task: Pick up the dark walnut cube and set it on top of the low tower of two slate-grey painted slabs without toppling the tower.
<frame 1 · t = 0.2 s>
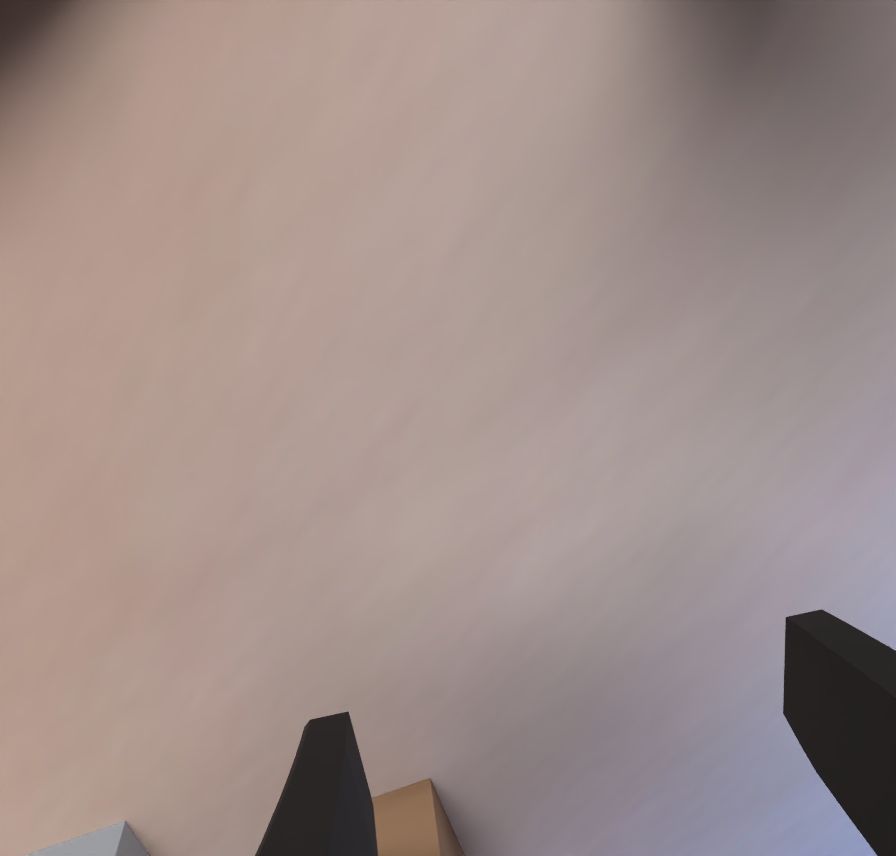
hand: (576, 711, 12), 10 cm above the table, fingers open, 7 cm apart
walnut cube: (388, 841, 27), on the table
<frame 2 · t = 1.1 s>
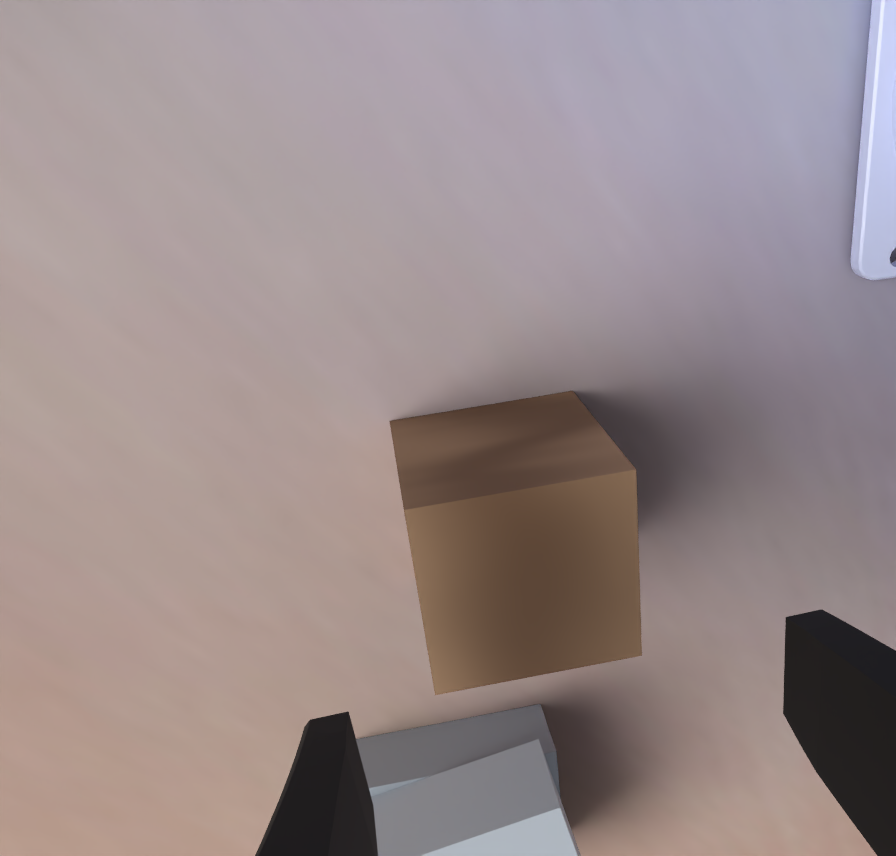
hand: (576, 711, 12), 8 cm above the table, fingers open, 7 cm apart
walnut cube: (490, 486, 20), on the table
tower base: (456, 780, 24), on the table
tower top: (470, 839, 22), point 2 cm above the table
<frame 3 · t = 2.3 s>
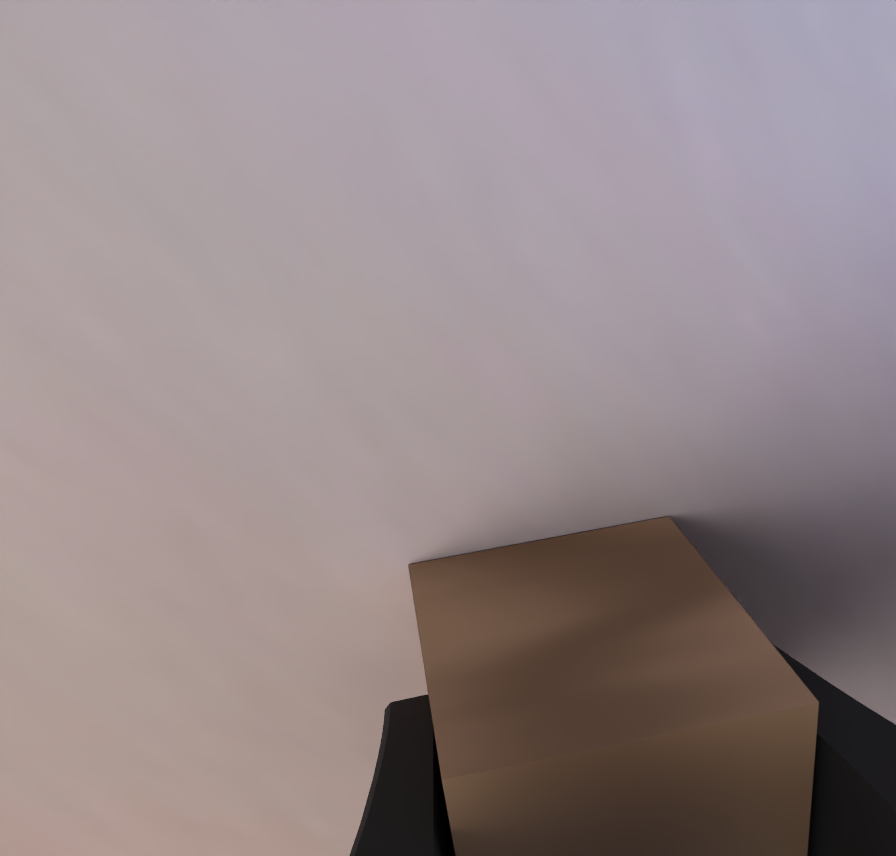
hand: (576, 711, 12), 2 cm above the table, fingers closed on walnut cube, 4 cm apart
walnut cube: (550, 646, 14), on the table, touching gripper
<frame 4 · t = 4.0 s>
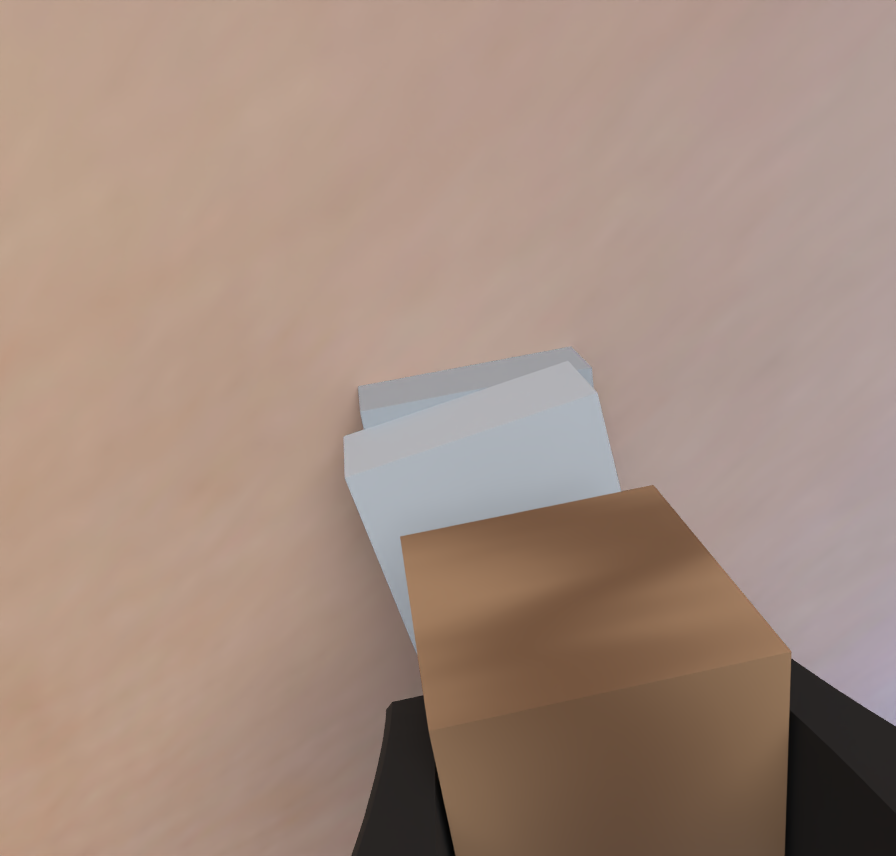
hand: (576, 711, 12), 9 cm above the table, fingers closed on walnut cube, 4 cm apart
walnut cube: (541, 615, 14), point 7 cm above the table, touching gripper
tower base: (477, 455, 21), on the table
tower top: (487, 497, 19), point 2 cm above the table
when the fingers open (7 cm above the table, at t = 4.8 s): walnut cube drops 1 cm, point 4 cm above the table.
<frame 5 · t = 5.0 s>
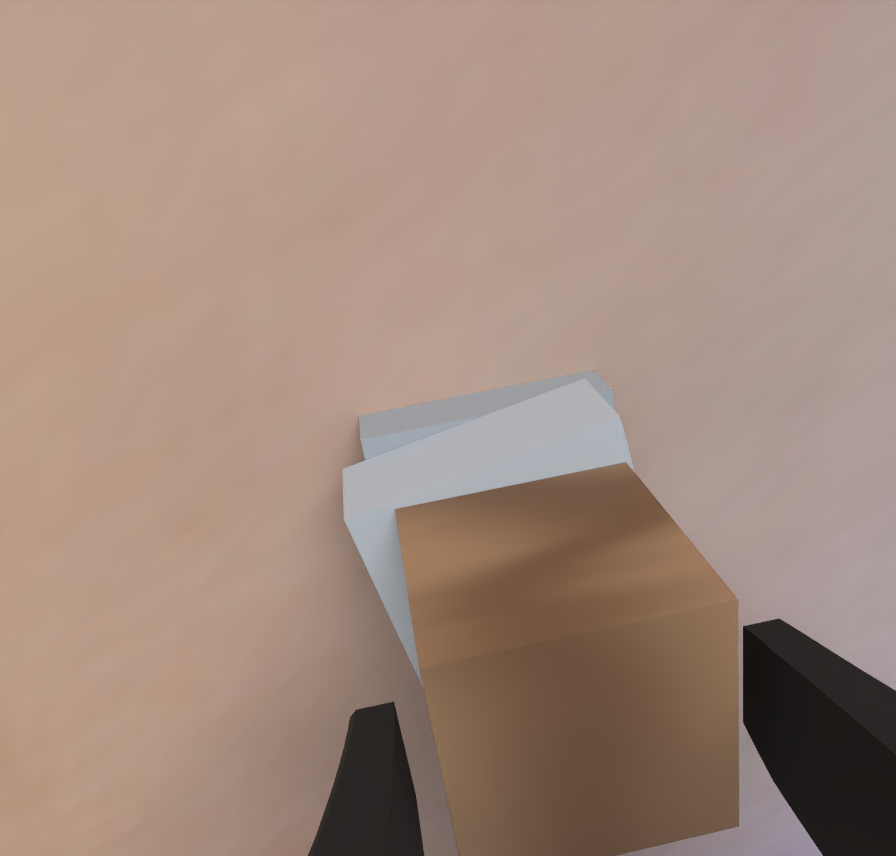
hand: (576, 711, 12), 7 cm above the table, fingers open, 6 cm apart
walnut cube: (524, 583, 16), point 4 cm above the table
tower base: (486, 481, 20), on the table
tower top: (501, 527, 18), point 1 cm above the table
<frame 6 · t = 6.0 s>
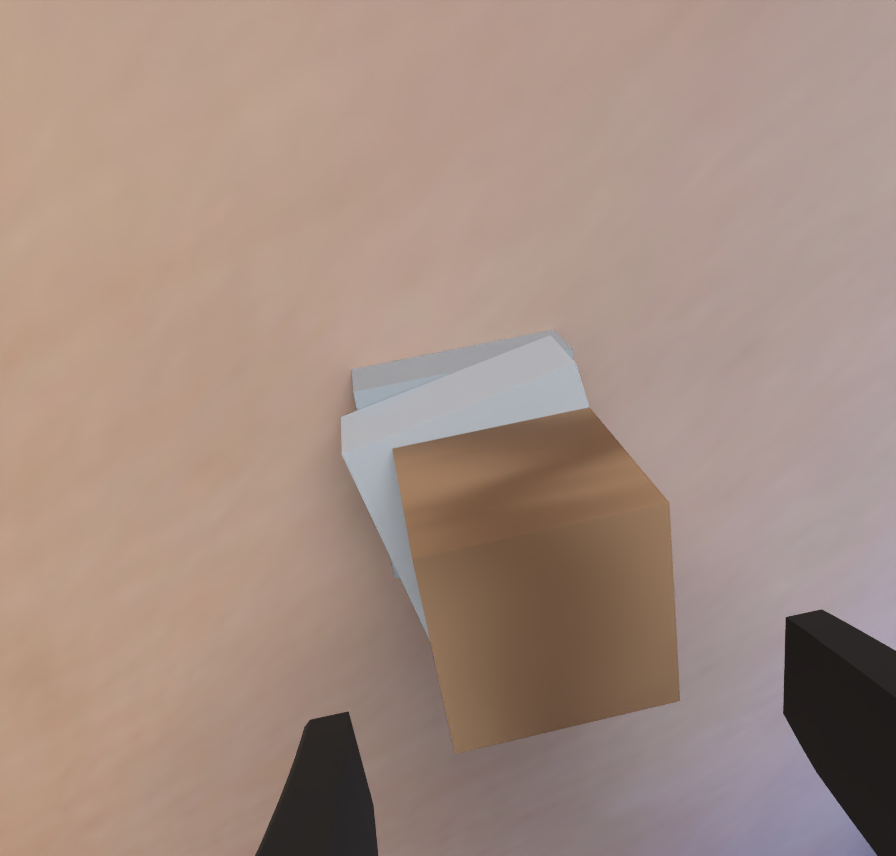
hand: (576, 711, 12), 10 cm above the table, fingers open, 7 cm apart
walnut cube: (504, 514, 18), point 4 cm above the table, touching tower top
tower base: (466, 435, 22), on the table, touching tower top
tower top: (481, 468, 20), point 2 cm above the table, touching tower base, walnut cube
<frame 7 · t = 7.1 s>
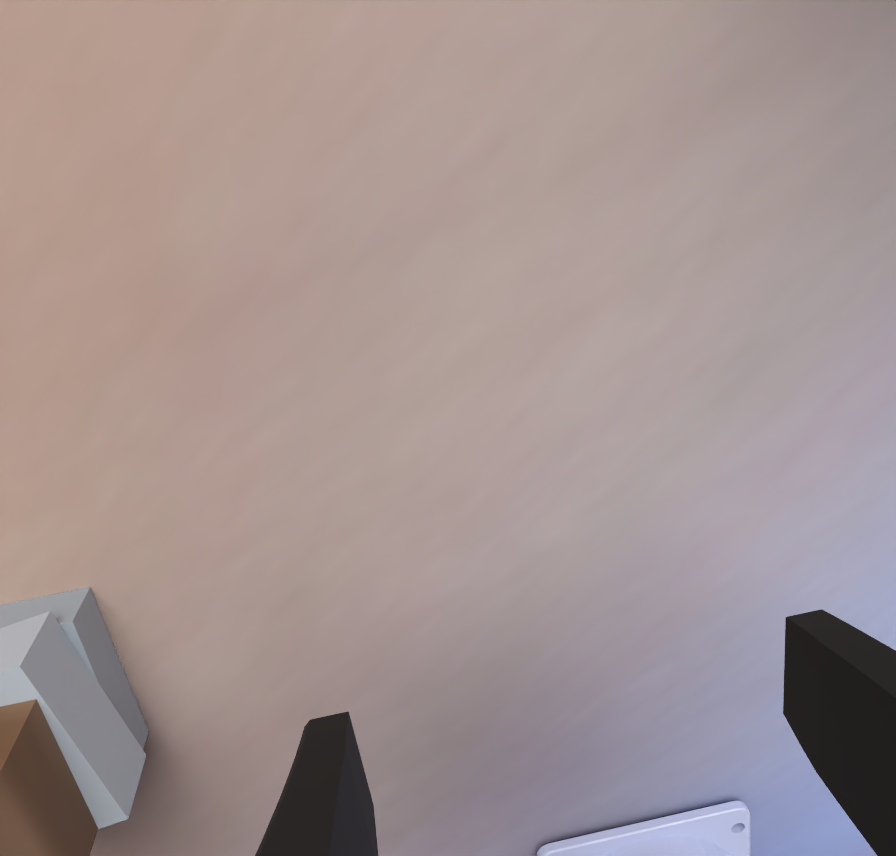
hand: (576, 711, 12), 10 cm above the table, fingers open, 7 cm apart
tower base: (35, 668, 24), on the table, touching tower top
tower top: (7, 719, 22), point 2 cm above the table, touching tower base, walnut cube
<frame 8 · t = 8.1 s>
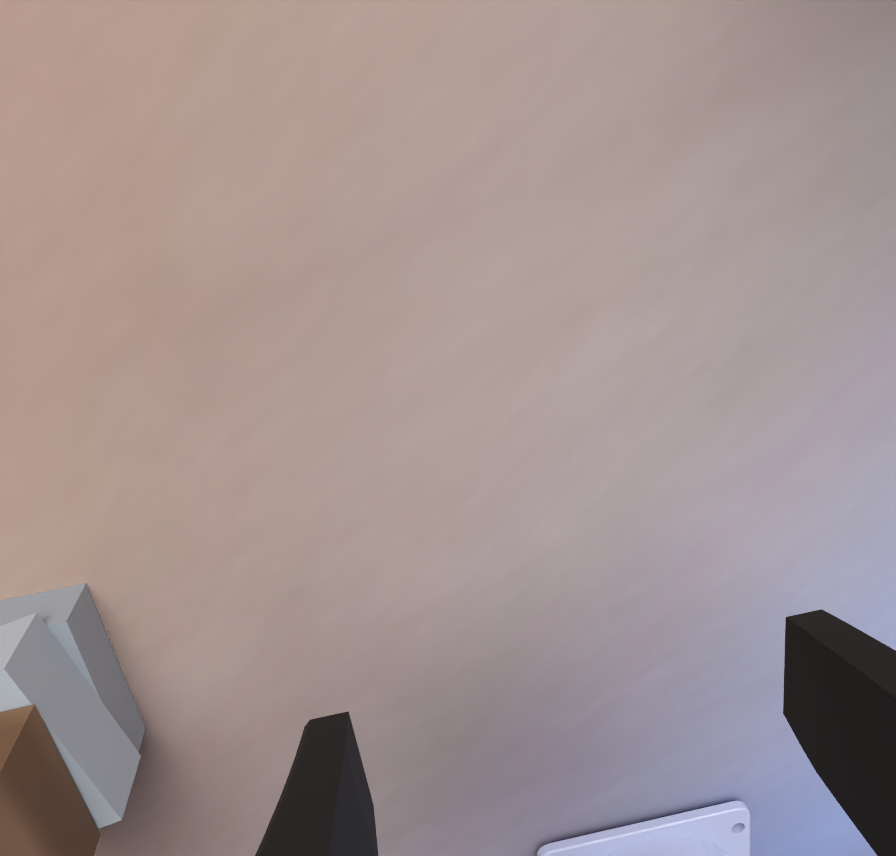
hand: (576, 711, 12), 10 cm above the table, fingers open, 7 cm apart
tower base: (29, 668, 23), on the table, touching tower top
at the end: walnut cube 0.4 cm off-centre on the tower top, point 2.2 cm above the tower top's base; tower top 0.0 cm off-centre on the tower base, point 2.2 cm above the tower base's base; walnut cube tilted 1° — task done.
